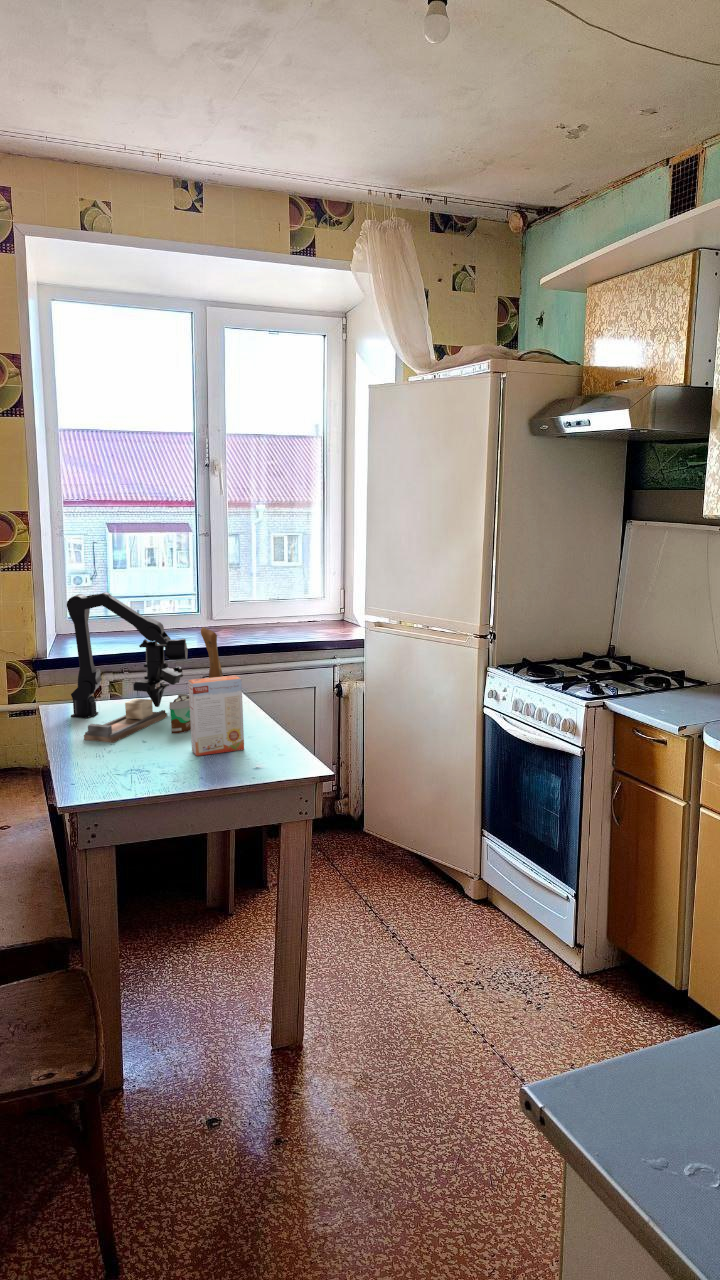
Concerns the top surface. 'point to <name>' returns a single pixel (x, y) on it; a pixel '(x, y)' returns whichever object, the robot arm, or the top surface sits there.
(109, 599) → the robot arm
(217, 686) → the cracker box
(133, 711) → the slider block
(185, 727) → the food container
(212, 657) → the tan tall curved piece
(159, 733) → the top surface
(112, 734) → the slider track
